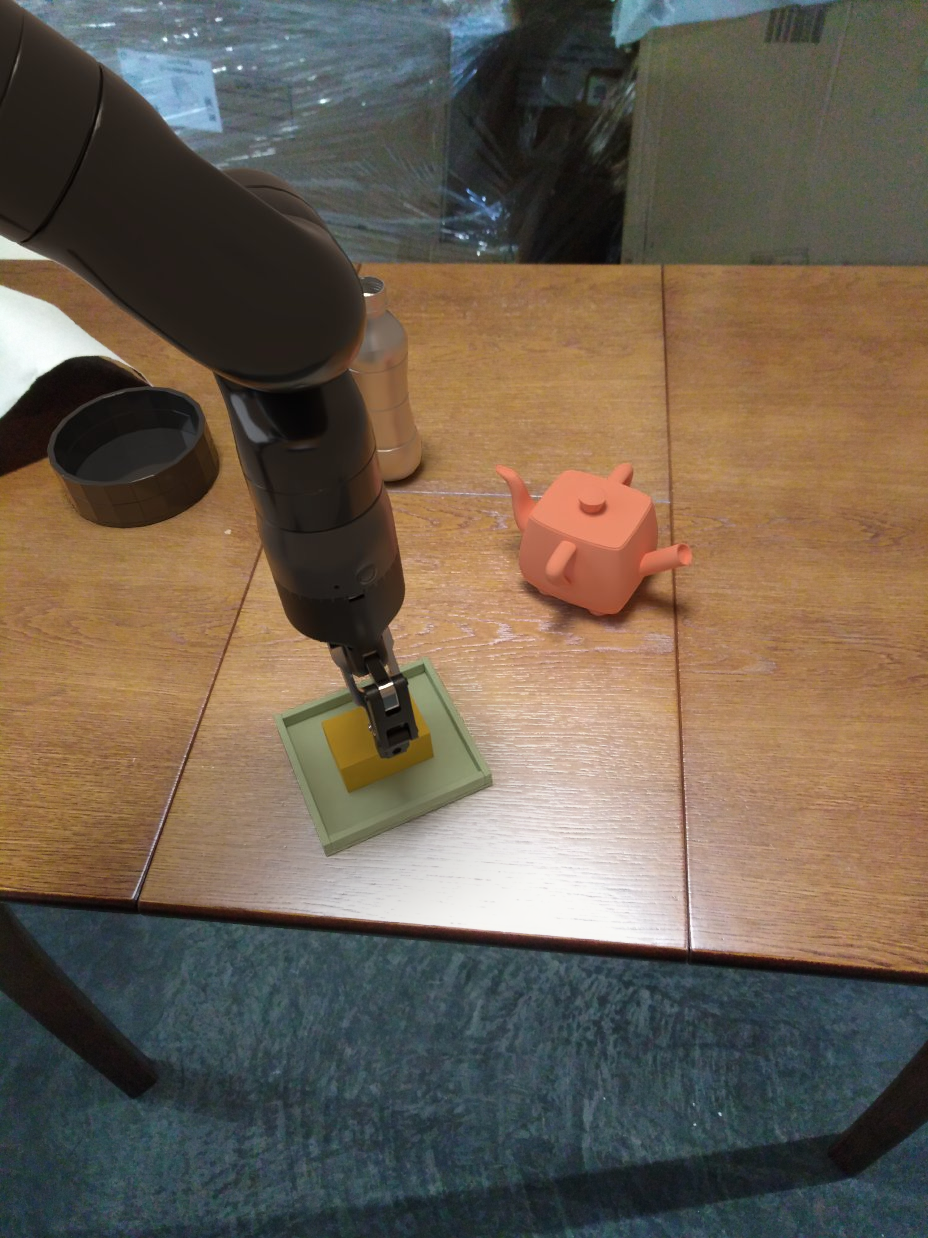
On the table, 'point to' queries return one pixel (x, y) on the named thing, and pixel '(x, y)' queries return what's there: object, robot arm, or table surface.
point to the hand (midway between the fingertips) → (372, 704)
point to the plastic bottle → (387, 384)
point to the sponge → (370, 748)
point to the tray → (393, 796)
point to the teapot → (590, 538)
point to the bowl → (134, 456)
